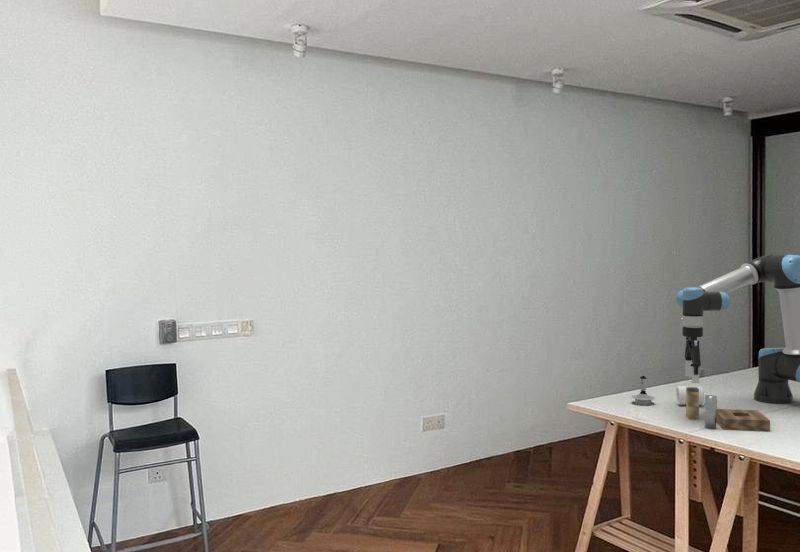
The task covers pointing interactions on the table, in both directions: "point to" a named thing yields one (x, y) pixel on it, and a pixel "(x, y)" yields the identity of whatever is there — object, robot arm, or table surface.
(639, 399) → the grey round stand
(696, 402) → the square bit
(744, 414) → the bore block
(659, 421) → the table surface
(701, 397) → the mug
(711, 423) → the round bit
